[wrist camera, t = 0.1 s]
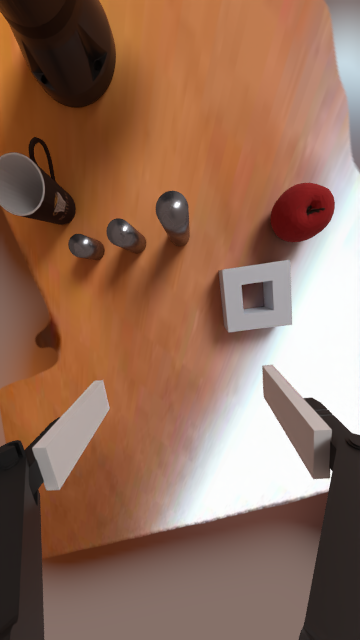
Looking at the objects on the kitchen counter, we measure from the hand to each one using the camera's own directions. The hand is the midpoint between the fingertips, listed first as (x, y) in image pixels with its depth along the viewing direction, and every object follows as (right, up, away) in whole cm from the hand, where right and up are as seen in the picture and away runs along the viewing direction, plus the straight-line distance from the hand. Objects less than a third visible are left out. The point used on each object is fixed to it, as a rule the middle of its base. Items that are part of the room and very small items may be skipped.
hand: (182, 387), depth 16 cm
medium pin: (-9, +21, +24) cm, 34 cm away
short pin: (-18, +20, +25) cm, 37 cm away
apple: (+21, +25, +22) cm, 39 cm away
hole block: (+15, +11, +25) cm, 31 cm away
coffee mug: (-23, +29, +24) cm, 44 cm away
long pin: (0, +23, +24) cm, 33 cm away
